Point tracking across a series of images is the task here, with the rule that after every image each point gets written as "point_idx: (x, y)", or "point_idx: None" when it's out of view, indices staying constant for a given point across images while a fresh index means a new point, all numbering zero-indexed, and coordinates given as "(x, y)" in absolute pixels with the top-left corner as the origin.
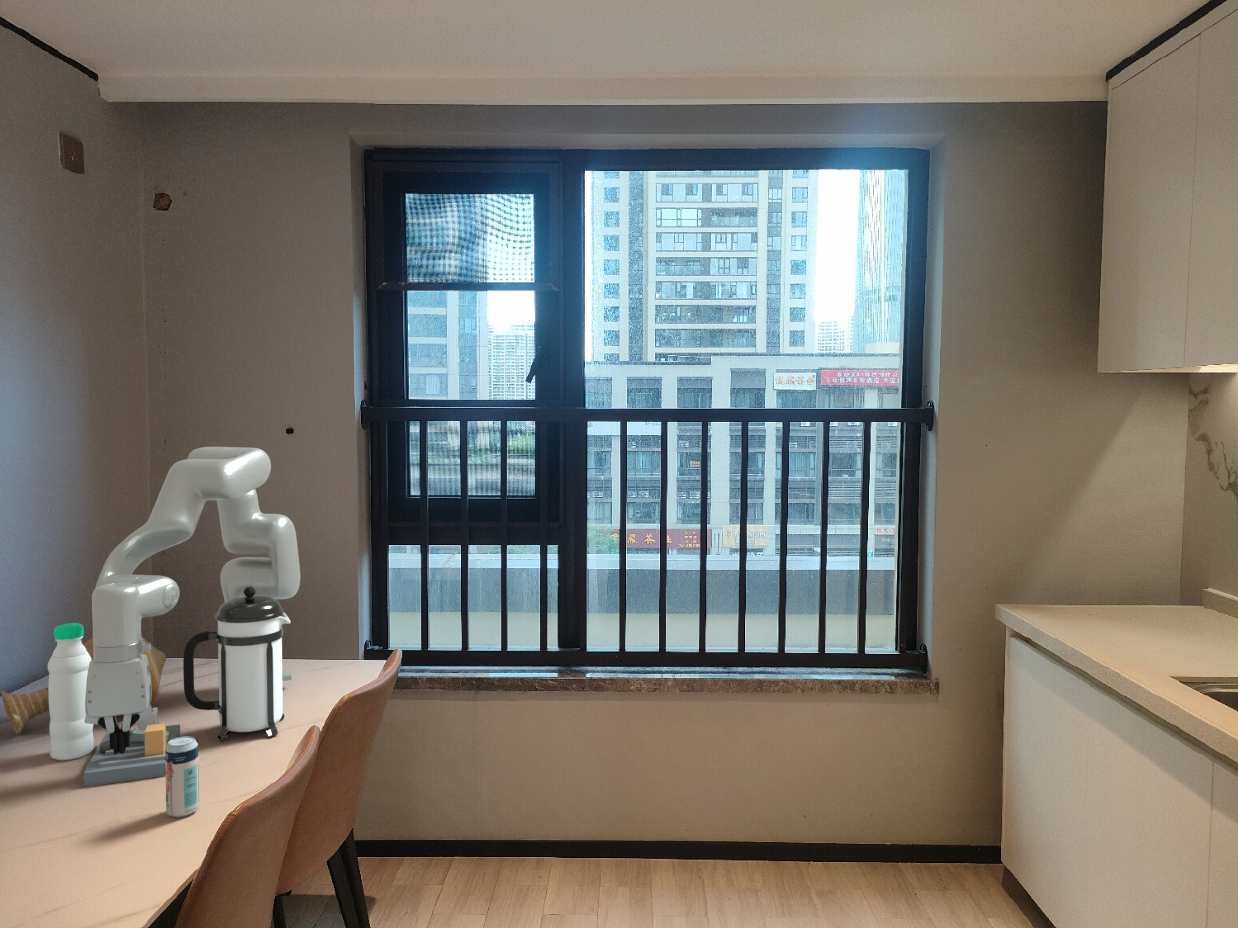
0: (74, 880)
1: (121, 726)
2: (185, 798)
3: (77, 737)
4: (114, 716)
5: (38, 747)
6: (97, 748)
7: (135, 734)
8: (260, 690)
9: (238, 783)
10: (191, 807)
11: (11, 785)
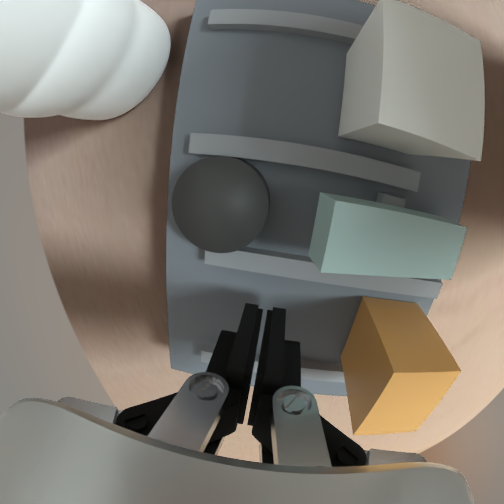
0: None
1: (256, 421)
2: None
3: (85, 101)
4: (202, 448)
5: None
6: (171, 156)
7: (334, 271)
8: None
9: (443, 424)
10: None
11: (43, 245)
